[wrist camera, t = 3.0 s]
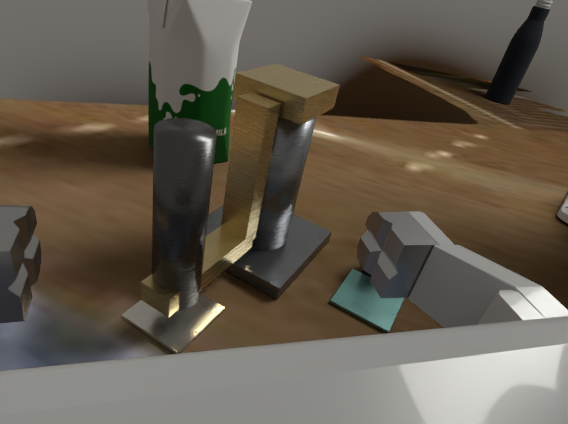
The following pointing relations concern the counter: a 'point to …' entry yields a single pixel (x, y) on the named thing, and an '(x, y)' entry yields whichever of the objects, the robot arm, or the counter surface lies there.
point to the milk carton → (194, 62)
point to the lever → (239, 186)
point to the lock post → (272, 254)
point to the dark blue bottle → (518, 55)
